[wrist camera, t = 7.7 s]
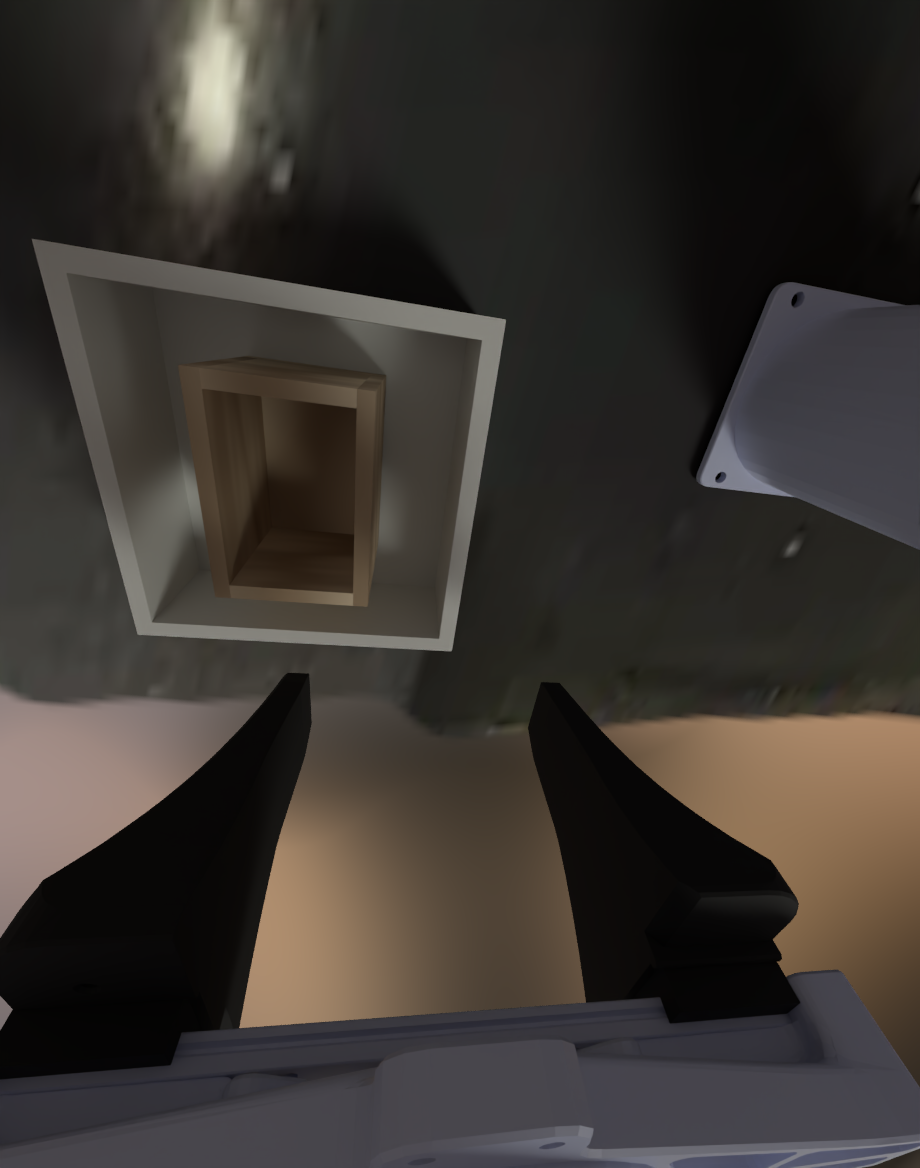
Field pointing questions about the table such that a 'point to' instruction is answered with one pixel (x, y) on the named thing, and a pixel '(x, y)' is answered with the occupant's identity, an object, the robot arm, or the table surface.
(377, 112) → the table surface
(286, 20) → the table surface
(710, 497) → the table surface
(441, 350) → the storage crate
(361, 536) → the wood crate
